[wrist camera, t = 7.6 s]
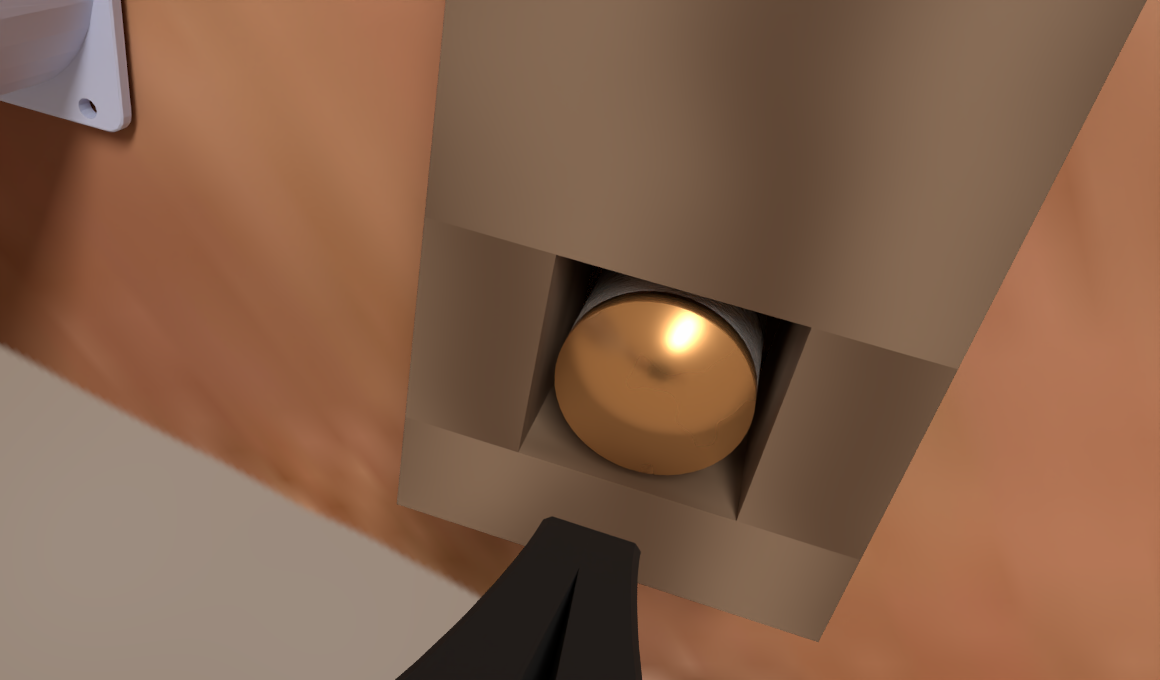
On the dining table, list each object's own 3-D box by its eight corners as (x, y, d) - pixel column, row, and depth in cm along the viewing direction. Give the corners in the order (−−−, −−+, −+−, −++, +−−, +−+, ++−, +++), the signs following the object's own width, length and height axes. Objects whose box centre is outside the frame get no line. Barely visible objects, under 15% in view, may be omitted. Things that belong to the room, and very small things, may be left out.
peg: (589, 339, 22) (539, 441, 18) (622, 195, 20) (573, 277, 16) (741, 384, 22) (723, 498, 18) (791, 242, 19) (783, 337, 16)
